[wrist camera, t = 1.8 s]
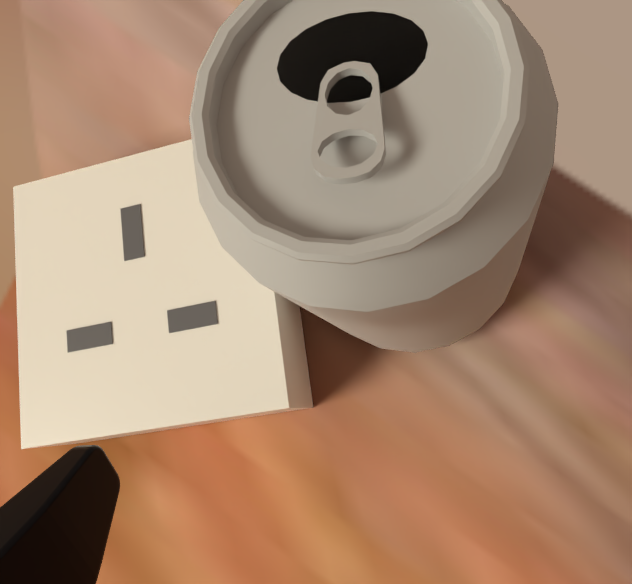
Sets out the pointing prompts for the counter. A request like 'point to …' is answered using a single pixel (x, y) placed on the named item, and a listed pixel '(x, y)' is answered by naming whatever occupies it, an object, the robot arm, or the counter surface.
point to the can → (376, 158)
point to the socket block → (141, 309)
